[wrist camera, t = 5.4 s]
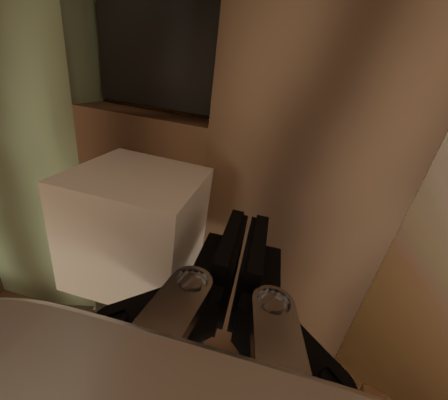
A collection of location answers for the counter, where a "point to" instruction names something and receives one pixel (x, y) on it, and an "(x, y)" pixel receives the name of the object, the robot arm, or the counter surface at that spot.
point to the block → (124, 223)
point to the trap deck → (232, 126)
